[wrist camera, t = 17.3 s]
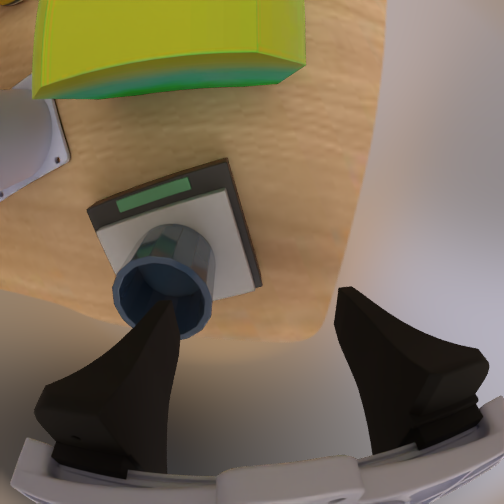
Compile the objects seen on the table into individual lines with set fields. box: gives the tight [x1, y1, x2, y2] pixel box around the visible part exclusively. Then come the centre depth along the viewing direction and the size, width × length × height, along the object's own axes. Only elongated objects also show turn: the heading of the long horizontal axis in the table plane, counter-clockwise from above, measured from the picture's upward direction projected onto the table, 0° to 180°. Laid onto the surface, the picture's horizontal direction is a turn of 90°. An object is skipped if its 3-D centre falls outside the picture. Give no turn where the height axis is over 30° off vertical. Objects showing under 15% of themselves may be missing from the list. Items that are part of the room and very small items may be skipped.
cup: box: [112, 224, 216, 340], centre depth 17 cm, size 5×5×4 cm
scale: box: [87, 158, 263, 301], centre depth 20 cm, size 10×9×3 cm
